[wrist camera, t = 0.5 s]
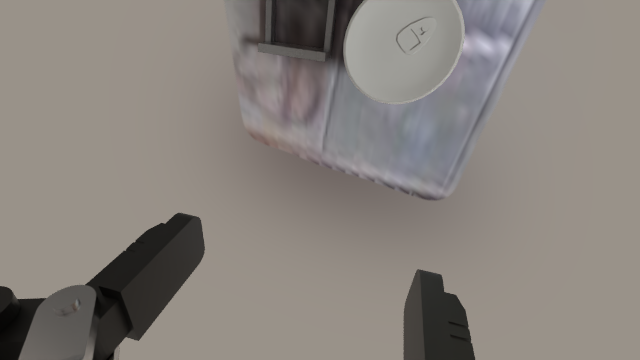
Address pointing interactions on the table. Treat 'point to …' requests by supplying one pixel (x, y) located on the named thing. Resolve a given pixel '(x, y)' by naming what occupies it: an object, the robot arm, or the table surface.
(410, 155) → the table surface
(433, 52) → the canned food
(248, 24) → the table surface
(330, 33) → the rail channel
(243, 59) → the table surface
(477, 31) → the table surface
